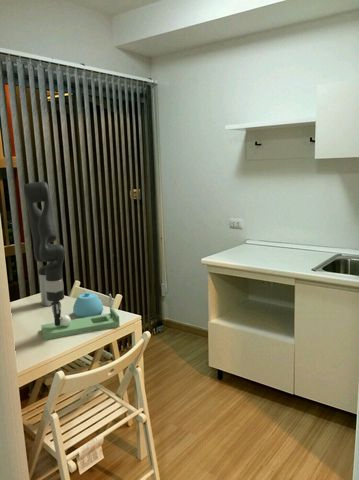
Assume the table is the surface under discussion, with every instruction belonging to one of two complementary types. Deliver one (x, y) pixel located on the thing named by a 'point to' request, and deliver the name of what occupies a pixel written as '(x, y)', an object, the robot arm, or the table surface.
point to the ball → (65, 320)
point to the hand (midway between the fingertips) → (57, 325)
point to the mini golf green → (81, 326)
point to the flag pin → (110, 305)
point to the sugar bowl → (87, 305)
